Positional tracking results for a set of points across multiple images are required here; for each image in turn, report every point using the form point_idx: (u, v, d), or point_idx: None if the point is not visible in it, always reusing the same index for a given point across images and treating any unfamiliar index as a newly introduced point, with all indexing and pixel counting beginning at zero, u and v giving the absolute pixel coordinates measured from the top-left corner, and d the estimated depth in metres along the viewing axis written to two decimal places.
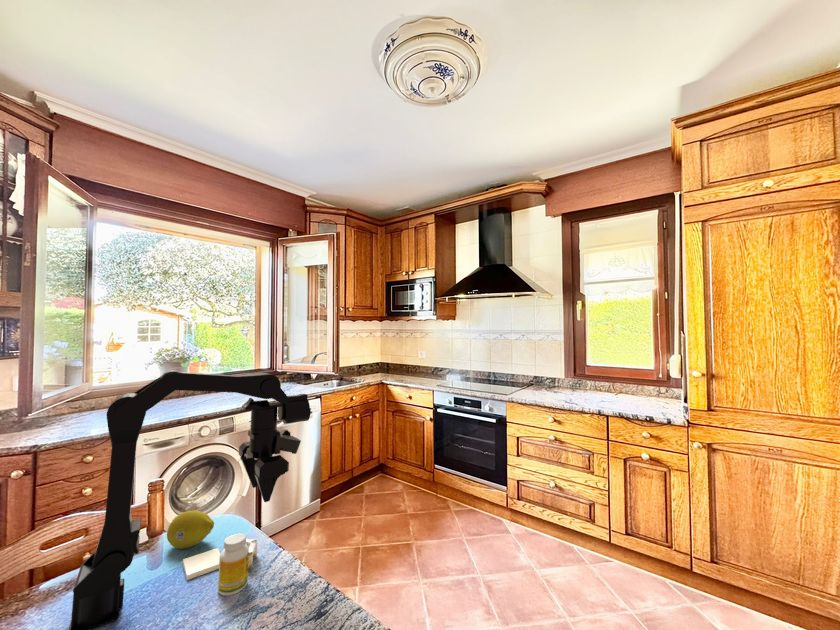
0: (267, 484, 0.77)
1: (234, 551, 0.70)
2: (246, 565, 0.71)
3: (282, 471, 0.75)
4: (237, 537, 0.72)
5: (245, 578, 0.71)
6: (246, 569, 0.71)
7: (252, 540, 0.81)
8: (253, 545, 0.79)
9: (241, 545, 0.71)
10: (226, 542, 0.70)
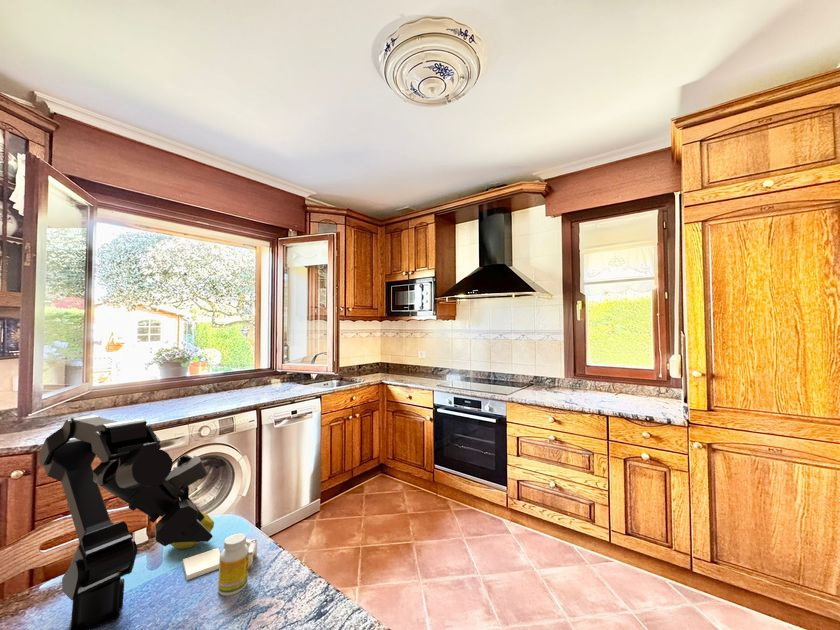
0: (191, 532, 0.62)
1: (234, 551, 0.70)
2: (246, 565, 0.71)
3: (188, 520, 0.59)
4: (237, 537, 0.72)
5: (245, 578, 0.71)
6: (246, 569, 0.71)
7: (252, 540, 0.81)
8: (253, 545, 0.79)
9: (241, 545, 0.71)
10: (226, 542, 0.70)
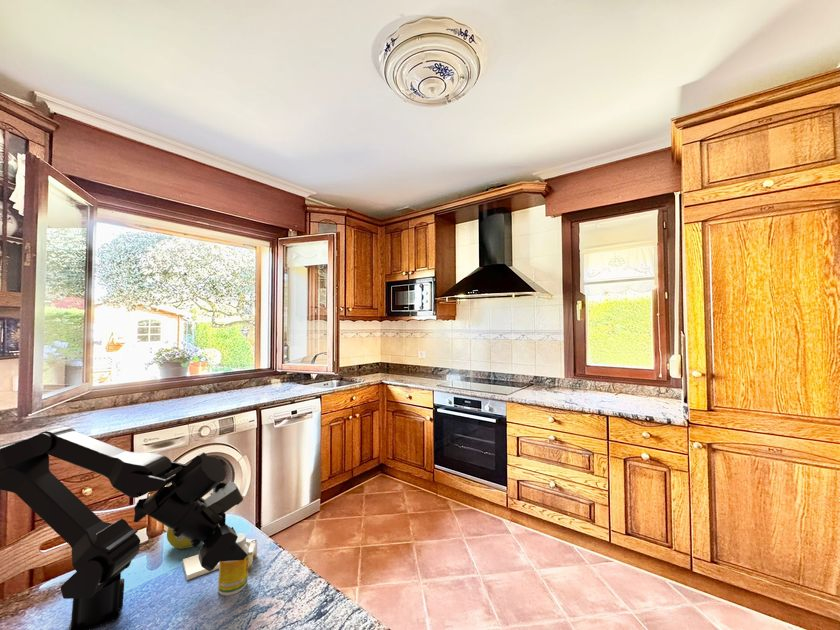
0: (229, 551, 0.67)
1: None
2: (246, 565, 0.71)
3: (230, 545, 0.63)
4: None
5: (245, 578, 0.71)
6: (246, 569, 0.71)
7: (252, 540, 0.81)
8: (253, 545, 0.79)
9: (241, 545, 0.71)
10: None
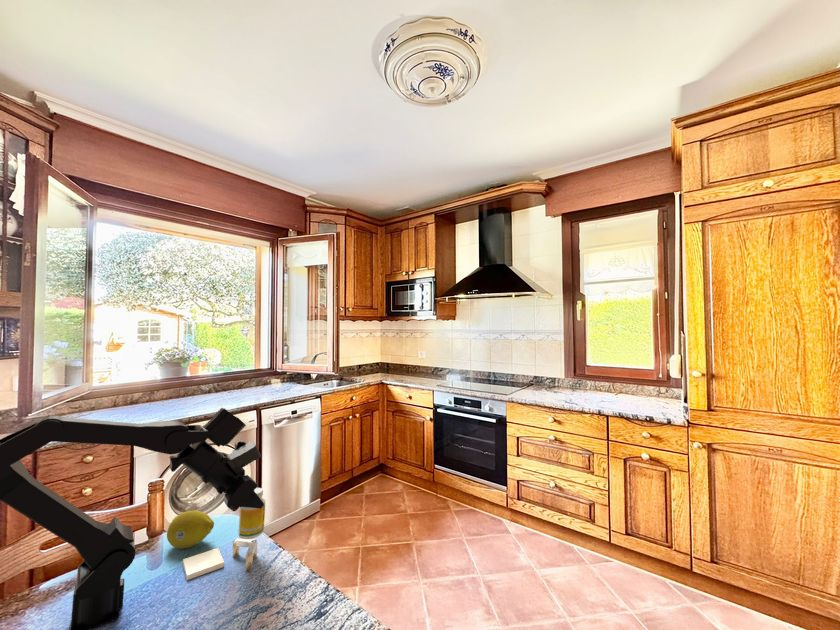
0: (249, 499, 0.77)
1: None
2: (263, 514, 0.81)
3: (251, 490, 0.73)
4: (255, 490, 0.82)
5: (262, 525, 0.81)
6: (263, 518, 0.81)
7: (252, 540, 0.81)
8: (253, 545, 0.79)
9: (259, 496, 0.81)
10: None
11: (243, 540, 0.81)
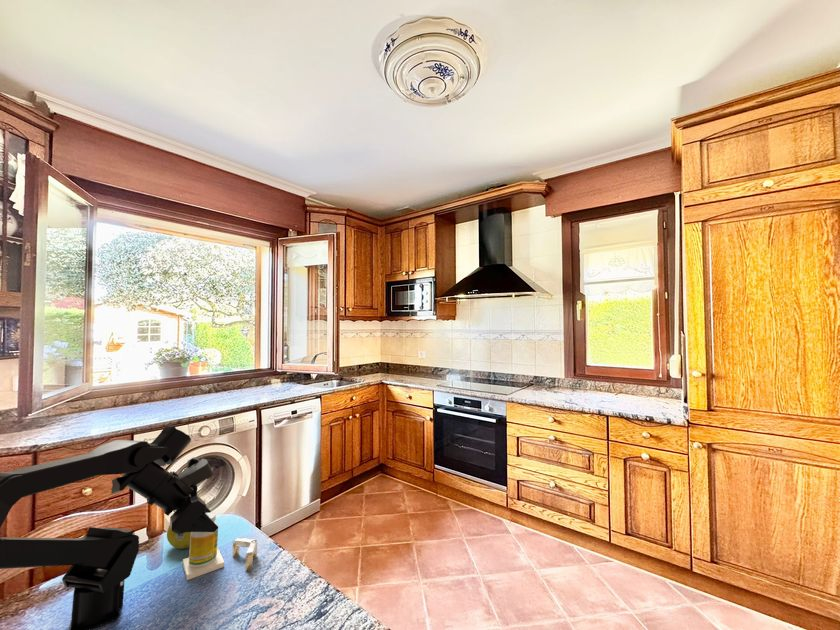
0: (200, 523, 0.73)
1: None
2: (215, 541, 0.78)
3: (198, 512, 0.70)
4: None
5: (214, 552, 0.78)
6: (215, 544, 0.78)
7: (252, 540, 0.81)
8: (253, 545, 0.79)
9: None
10: None
11: (243, 540, 0.81)
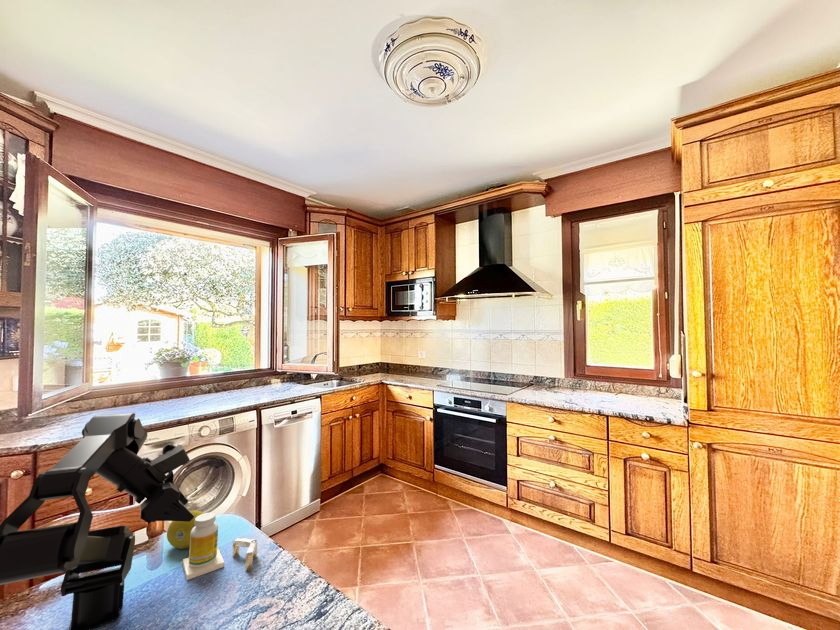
0: (174, 512, 0.69)
1: (204, 527, 0.77)
2: (215, 541, 0.78)
3: (170, 500, 0.66)
4: (207, 515, 0.79)
5: (214, 552, 0.78)
6: (215, 544, 0.78)
7: (252, 540, 0.81)
8: (253, 545, 0.79)
9: (210, 522, 0.78)
10: (196, 519, 0.77)
11: (243, 540, 0.81)
